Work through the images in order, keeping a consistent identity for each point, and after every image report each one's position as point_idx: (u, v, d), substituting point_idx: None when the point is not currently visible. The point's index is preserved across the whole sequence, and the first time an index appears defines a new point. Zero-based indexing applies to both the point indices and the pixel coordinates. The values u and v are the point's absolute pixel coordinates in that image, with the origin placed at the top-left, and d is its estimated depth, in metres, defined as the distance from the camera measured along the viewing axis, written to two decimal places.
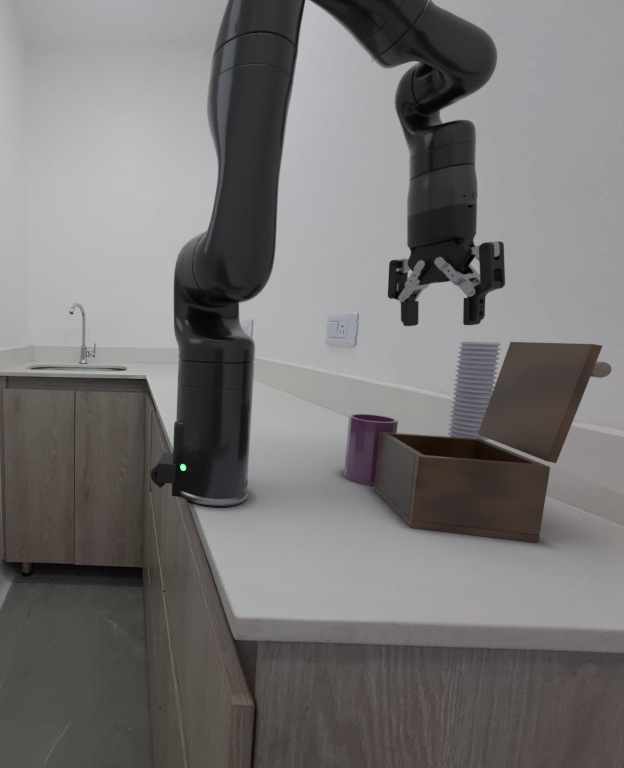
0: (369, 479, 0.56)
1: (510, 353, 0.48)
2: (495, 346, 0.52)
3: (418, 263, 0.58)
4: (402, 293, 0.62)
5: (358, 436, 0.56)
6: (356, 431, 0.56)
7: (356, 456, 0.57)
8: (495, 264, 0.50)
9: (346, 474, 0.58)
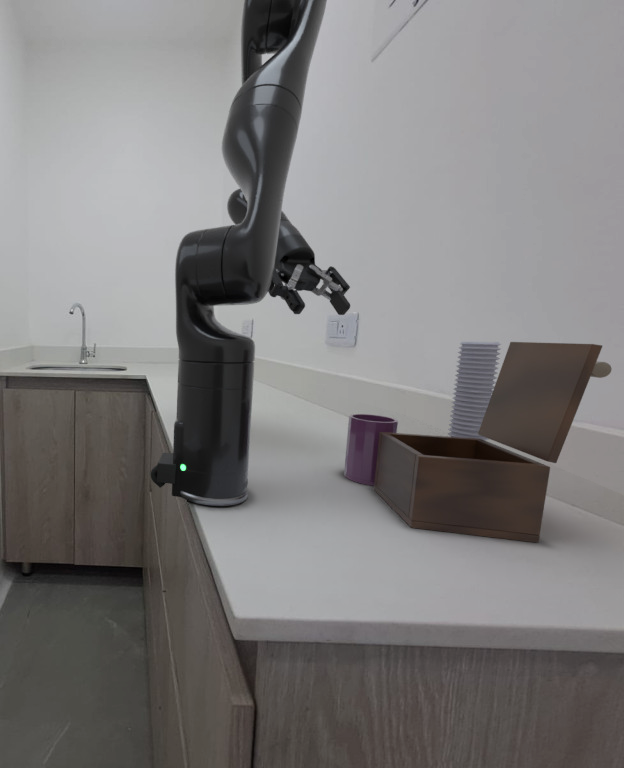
0: (369, 479, 0.56)
1: (510, 353, 0.48)
2: (495, 346, 0.52)
3: (298, 265, 0.69)
4: (289, 283, 0.67)
5: (358, 436, 0.56)
6: (356, 431, 0.56)
7: (356, 456, 0.57)
8: None
9: (346, 474, 0.58)
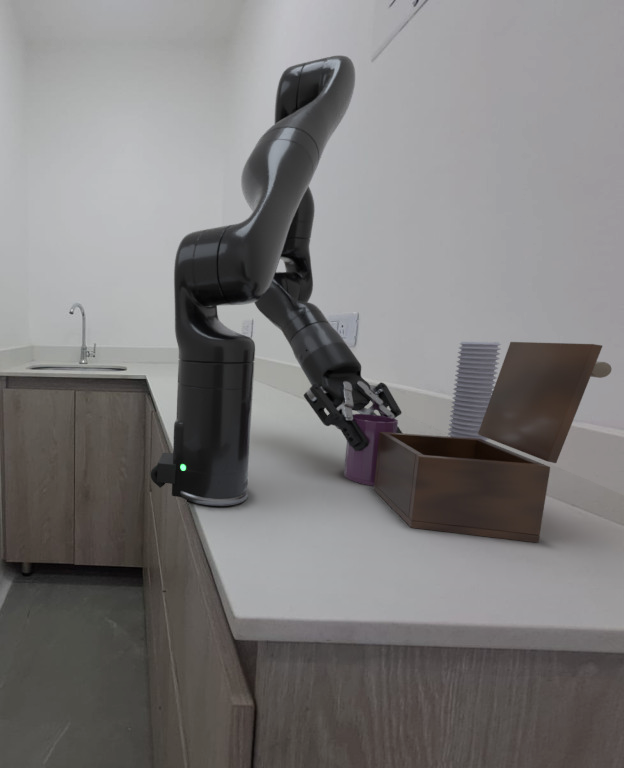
0: (369, 479, 0.56)
1: (510, 353, 0.48)
2: (495, 346, 0.52)
3: (345, 383, 0.60)
4: (347, 412, 0.57)
5: None
6: None
7: (356, 456, 0.57)
8: None
9: (346, 474, 0.58)
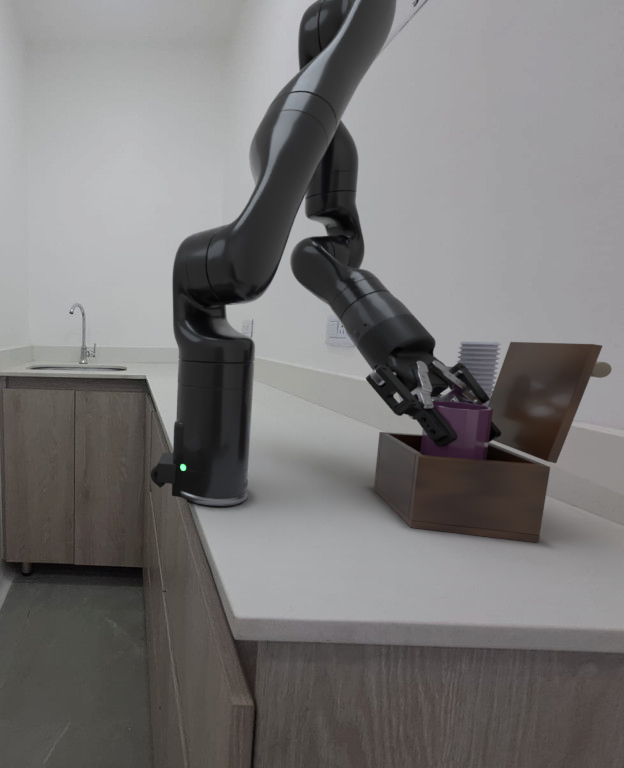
0: None
1: (510, 353, 0.48)
2: (495, 346, 0.52)
3: (419, 363, 0.48)
4: (425, 398, 0.46)
5: None
6: None
7: (437, 453, 0.45)
8: None
9: None
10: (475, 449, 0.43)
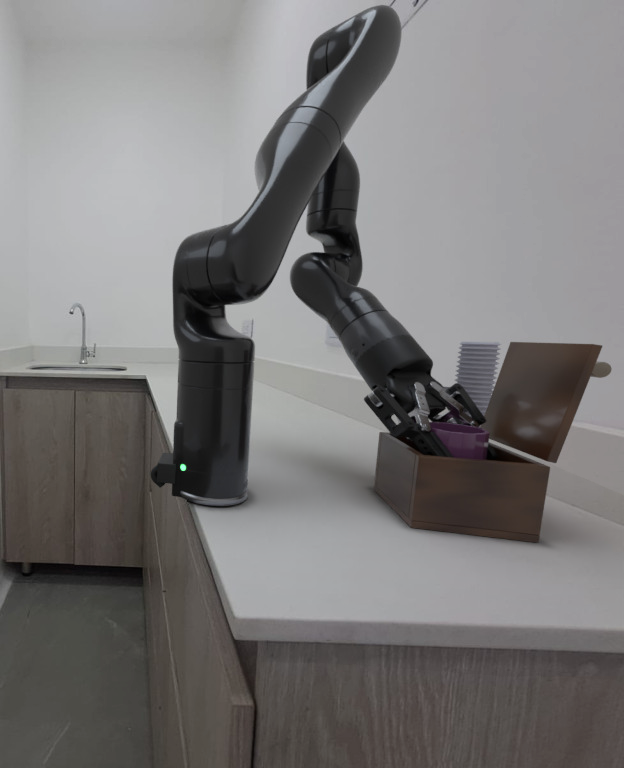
0: None
1: (510, 353, 0.48)
2: (495, 346, 0.52)
3: (416, 384, 0.49)
4: (422, 421, 0.46)
5: None
6: None
7: None
8: None
9: None
10: None
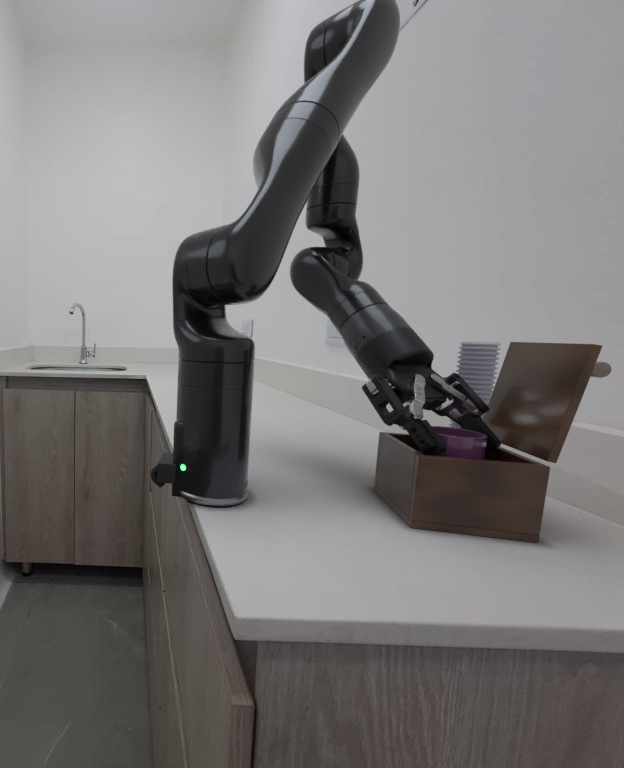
0: None
1: (510, 353, 0.48)
2: (495, 346, 0.52)
3: (417, 376, 0.49)
4: (415, 409, 0.46)
5: None
6: None
7: None
8: None
9: None
10: None
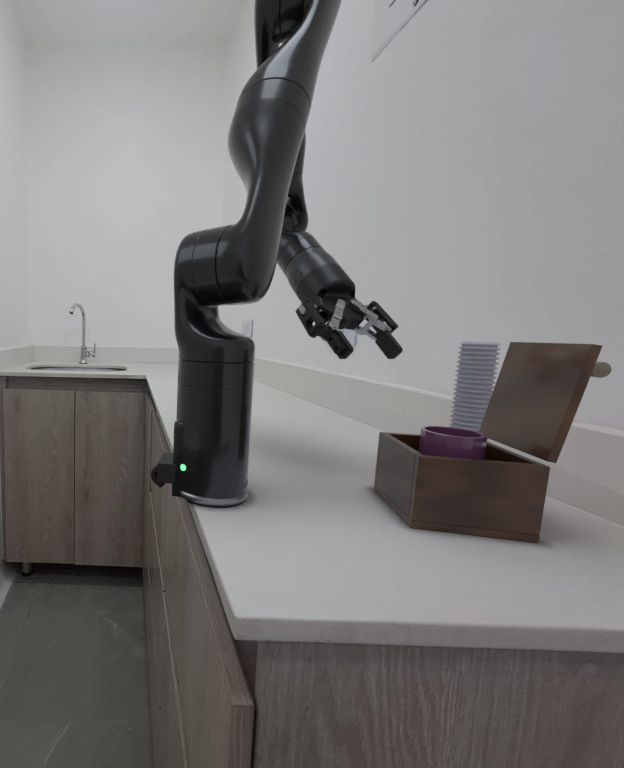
0: None
1: (510, 353, 0.48)
2: (495, 346, 0.52)
3: (339, 300, 0.60)
4: (332, 323, 0.57)
5: (436, 454, 0.45)
6: (433, 448, 0.45)
7: None
8: None
9: None
10: None
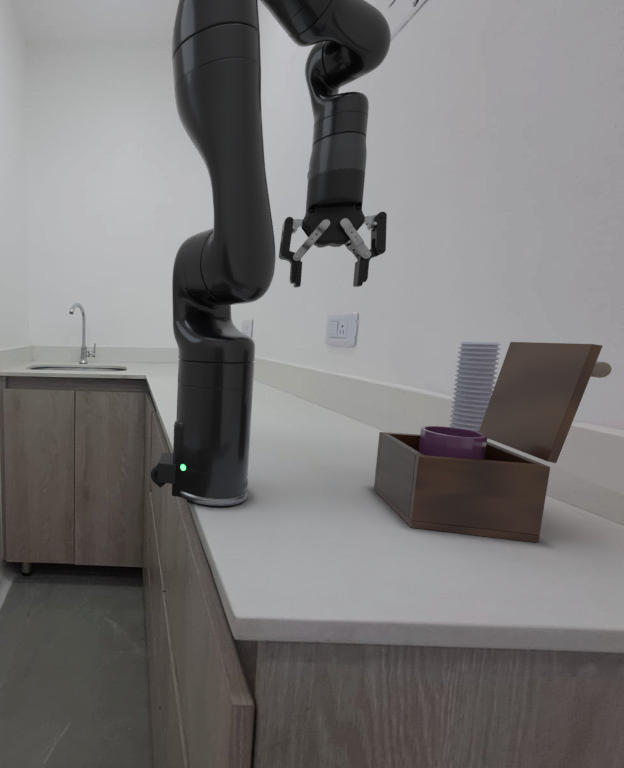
0: None
1: (510, 353, 0.48)
2: (495, 346, 0.52)
3: (323, 222, 0.59)
4: (298, 252, 0.61)
5: (436, 454, 0.45)
6: (433, 448, 0.45)
7: None
8: None
9: None
10: None
